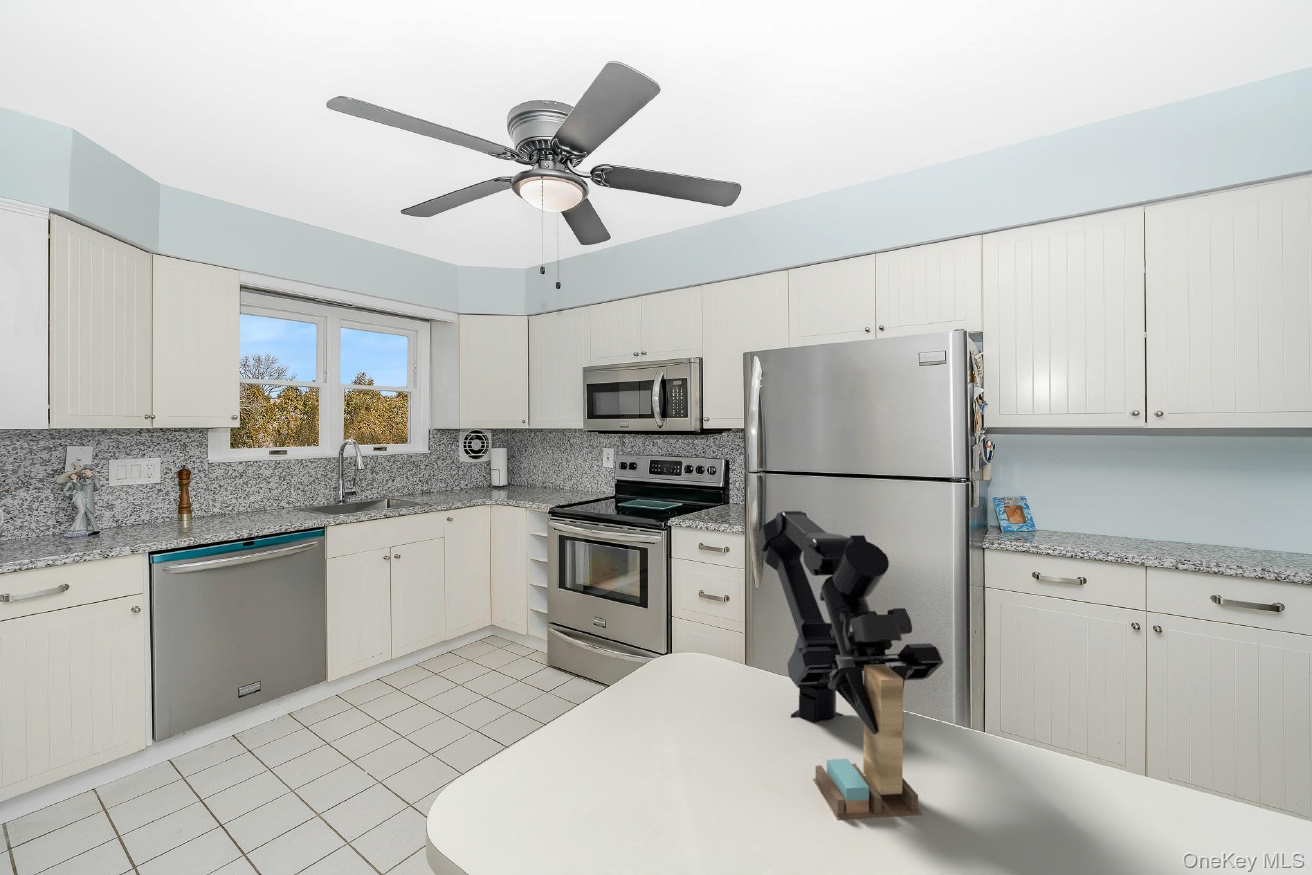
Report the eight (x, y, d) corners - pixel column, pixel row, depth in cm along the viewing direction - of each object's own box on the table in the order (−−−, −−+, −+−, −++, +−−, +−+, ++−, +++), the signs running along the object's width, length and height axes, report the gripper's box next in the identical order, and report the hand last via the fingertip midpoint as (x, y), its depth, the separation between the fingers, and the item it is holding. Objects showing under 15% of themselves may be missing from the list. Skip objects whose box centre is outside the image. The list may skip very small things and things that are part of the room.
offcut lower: (826, 782, 74) (826, 771, 74) (847, 781, 74) (847, 769, 74) (846, 813, 68) (846, 800, 68) (868, 811, 68) (868, 799, 68)
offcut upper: (826, 771, 74) (826, 759, 74) (847, 769, 74) (847, 758, 74) (846, 800, 68) (846, 788, 68) (868, 799, 68) (869, 786, 68)
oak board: (863, 772, 74) (864, 664, 74) (884, 771, 74) (884, 664, 74) (880, 794, 69) (881, 679, 69) (902, 793, 70) (903, 678, 69)
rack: (812, 786, 75) (812, 763, 75) (889, 781, 76) (889, 759, 76) (837, 828, 67) (837, 802, 67) (923, 822, 68) (923, 797, 68)
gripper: (800, 586, 75) (834, 711, 64) (935, 583, 76) (991, 705, 65) (781, 626, 82) (808, 743, 72) (904, 623, 84) (949, 737, 73)
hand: (888, 732), depth 70 cm, fingers closed on oak board, 3 cm apart
